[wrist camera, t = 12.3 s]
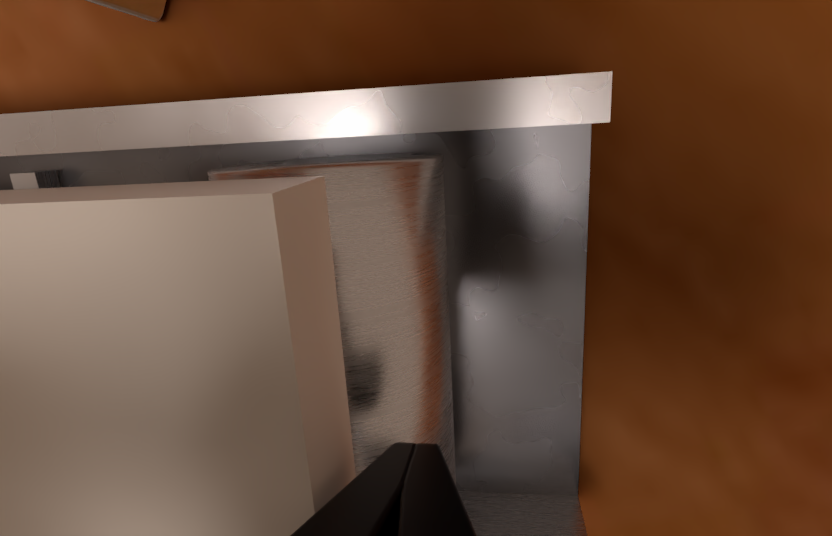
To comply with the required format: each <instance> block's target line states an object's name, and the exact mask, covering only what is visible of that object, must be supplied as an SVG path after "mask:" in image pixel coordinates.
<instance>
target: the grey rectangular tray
mask: <svg viewBox="0 0 832 536" xmlns="http://www.w3.org/2000/svg"><path fill="white" fill-rule="evenodd" d="M611 93H612V71H610V72H596V73H582V74H567V75H553V76H539V77H525V78H510V79H496V80H482V81H467V82H453V83H439V84H425V85H410V86H396V87H382V88H368V89H353V90H339V91H325V92H311V93H296V94H282V95H268V96H253V97H239V98H225V99H211V100H196V101H182V102H168V103H154V104H139V105H125V106H111V107H96V108H82V109H68V110H54V111H39V112H25V113H11V114H0V190H17V189H40V188H62V187H84V186H106V185H129V184H151V183H173V182H195V181H218V180H240V179H262V178H284V177H307V176H325V186H326V195H327V205H328V214H329V224H330V234H331V243H332V253H333V262H334V272H335V282H336V291H337V301H338V310H339V320H340V330H341V339H342V349H343V358H344V368H345V378H346V387H347V397H348V406H349V416H350V426H351V435H352V445H353V454H354V464H355V474H356V476H357V475H359V474H360V473H361V472H362V471H363V470H364V469H365V468H366V467H368V466H369V465H370V464H371V463H372V462H373V461H374V460H375V459H377V458H378V457H379V456H380V455H381V454H382V453H383V452H384V451H385V450H387V449H388V448H389V447H390V446H391V445H392V444H394V443H395V442H407V443H416V444H417V443H429V444H438V445H439V446H440V448H441V451H442V453H443V456H444V458H445V460H446V463H447V465H448V467H449V470H450V472H451V475H452V477H453V479H454V482H455V484H456V487H457V489H458V491H459V494H460V496H461V498H462V501H463V503H464V506H465V508H466V510H467V513H468V515H469V518H470V520H471V522H472V525H473V527H474V529H475V532H476V534H477V536H587V532H586V527H585V523H584V519H583V515H582V511H581V507H580V502H579V498H578V482H579V455H580V427H581V400H582V372H583V345H584V318H585V290H586V263H587V235H588V208H589V180H590V153H591V125H592V123H607V122H610V115H611Z"/></svg>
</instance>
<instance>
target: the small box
mask: <svg viewBox="0 0 832 536" xmlns="http://www.w3.org/2000/svg"><path fill="white" fill-rule="evenodd" d="M86 1H89V2H92V3H96V4H99V5H102V6H105V7H109V8H112V9H115V10H118V11H121V12H124V13H127V14H131V15H134V16H137V17H140V18H143V19H145V20H149V21H153V22H158V21H159V20H160V19H161V17H162V15H163V11H164V7H165V4H166V0H86Z"/></svg>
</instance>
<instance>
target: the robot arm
mask: <svg viewBox="0 0 832 536" xmlns="http://www.w3.org/2000/svg"><path fill="white" fill-rule="evenodd" d="M290 536H477V534H476V532H475V529H474V527H473V525H472V522H471V520H470V518H469V515H468V513H467V510H466V508H465V506H464V503H463V501H462V498H461V496H460V494H459V491H458V489H457V487H456V484H455V482H454V479H453V477H452V475H451V472H450V470H449V467H448V465H447V463H446V460H445V458H444V456H443V453H442V451H441V448H440V446H439V445H438V444H429V443H417V444H416V443H407V442H395V443H394V444H392V445H391V446H390V447H389V448H388V449H387V450H385V451H384V452H383V453H382V454H381V455H380V456H379V457H378V458H377V459H375V460H374V461H373V462H372V463H371V464H370V465H369V466H368V467H366V468H365V469H364V470H363V471H362V472H361V473H360V474H359V475H357V476H356V477H355V478H354V479H353V480H352V481H351V482H350V483H349V484H347V485H346V486H345V487H344V488H343V489H342V490H341V491H340V492H338V493H337V494H336V495H335V496H334V497H333V498H332V499H331V500H329V501H328V502H327V503H326V504H325V505H324V506H323V507H322V508H320V509H319V510H318V511H317V512H316V513H315V514H314V515H313V516H312V517H310V518H309V519H308V520H307V521H306V522H305V523H304V524H303V525H301V526H300V527H299V528H298V529H297V530H296V531H295V532H294V533H292V534H291V535H290Z"/></svg>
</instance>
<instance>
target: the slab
mask: <svg viewBox="0 0 832 536" xmlns="http://www.w3.org/2000/svg"><path fill="white" fill-rule="evenodd" d="M355 477H356V474H355V464H354V454H353V445H352V435H351V426H350V416H349V406H348V397H347V387H346V378H345V368H344V358H343V349H342V339H341V330H340V320H339V310H338V301H337V291H336V282H335V272H334V262H333V253H332V243H331V234H330V224H329V214H328V205H327V195H326V186H325V176H307V177H284V178H262V179H240V180H218V181H195V182H173V183H151V184H129V185H106V186H84V187H62V188H40V189H17V190H0V536H290V535H291V534H292V533H294V532H295V531H296V530H297V529H298V528H299V527H300V526H301V525H303V524H304V523H305V522H306V521H307V520H308V519H309V518H310V517H312V516H313V515H314V514H315V513H316V512H317V511H318V510H319V509H320V508H322V507H323V506H324V505H325V504H326V503H327V502H328V501H329V500H331V499H332V498H333V497H334V496H335V495H336V494H337V493H338V492H340V491H341V490H342V489H343V488H344V487H345V486H346V485H347V484H349V483H350V482H351V481H352V480H353V479H354V478H355Z"/></svg>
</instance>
